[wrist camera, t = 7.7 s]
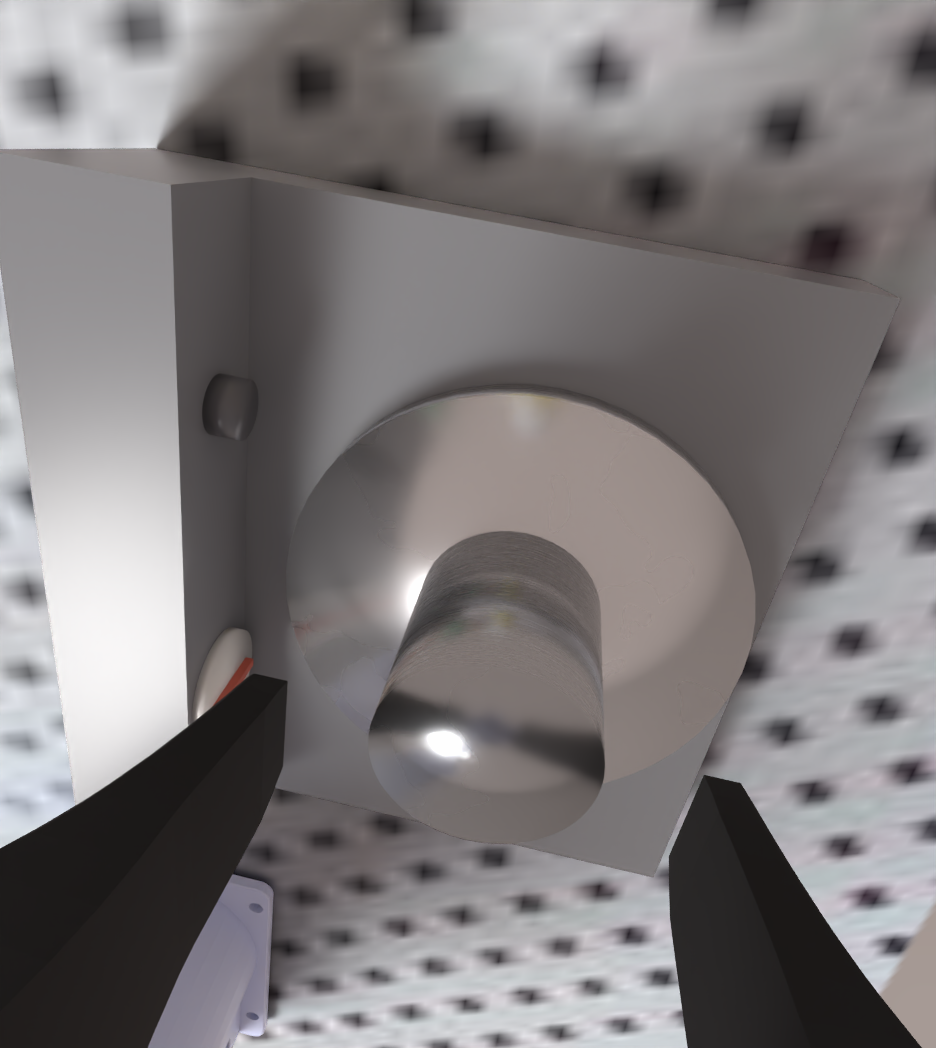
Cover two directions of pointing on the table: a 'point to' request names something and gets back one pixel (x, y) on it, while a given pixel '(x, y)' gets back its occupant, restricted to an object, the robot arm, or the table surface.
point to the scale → (355, 419)
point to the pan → (542, 510)
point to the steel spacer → (496, 694)
